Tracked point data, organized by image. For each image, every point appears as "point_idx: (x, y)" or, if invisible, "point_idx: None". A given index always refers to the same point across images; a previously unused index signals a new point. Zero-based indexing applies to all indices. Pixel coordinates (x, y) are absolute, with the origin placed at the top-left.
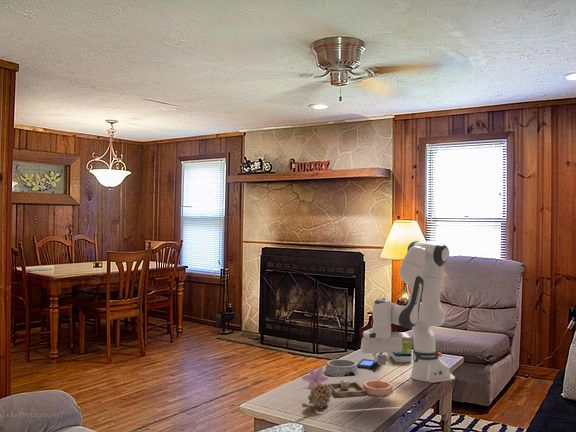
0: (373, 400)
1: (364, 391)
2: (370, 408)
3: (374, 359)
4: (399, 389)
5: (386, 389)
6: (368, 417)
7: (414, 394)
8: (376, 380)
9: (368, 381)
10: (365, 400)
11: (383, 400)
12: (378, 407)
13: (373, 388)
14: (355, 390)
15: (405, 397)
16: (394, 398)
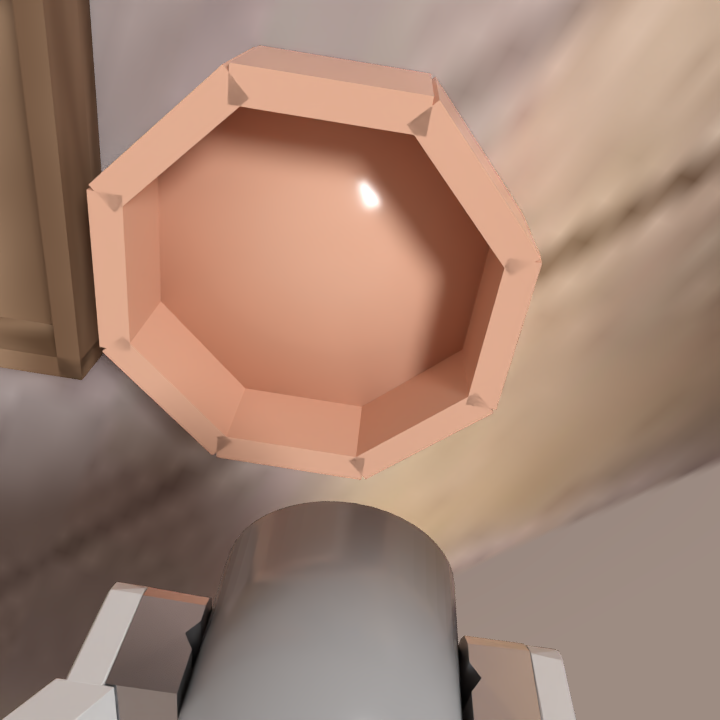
0: (159, 450)
1: (64, 371)
2: (67, 576)
3: (93, 628)
4: (685, 251)
5: (338, 469)
6: (6, 675)
7: (700, 455)
8: (395, 105)
9: (222, 107)
10: (75, 424)
11: (261, 480)
12: (143, 581)
13: (174, 417)
14: (6, 145)
15: (533, 489)
16: (403, 475)
